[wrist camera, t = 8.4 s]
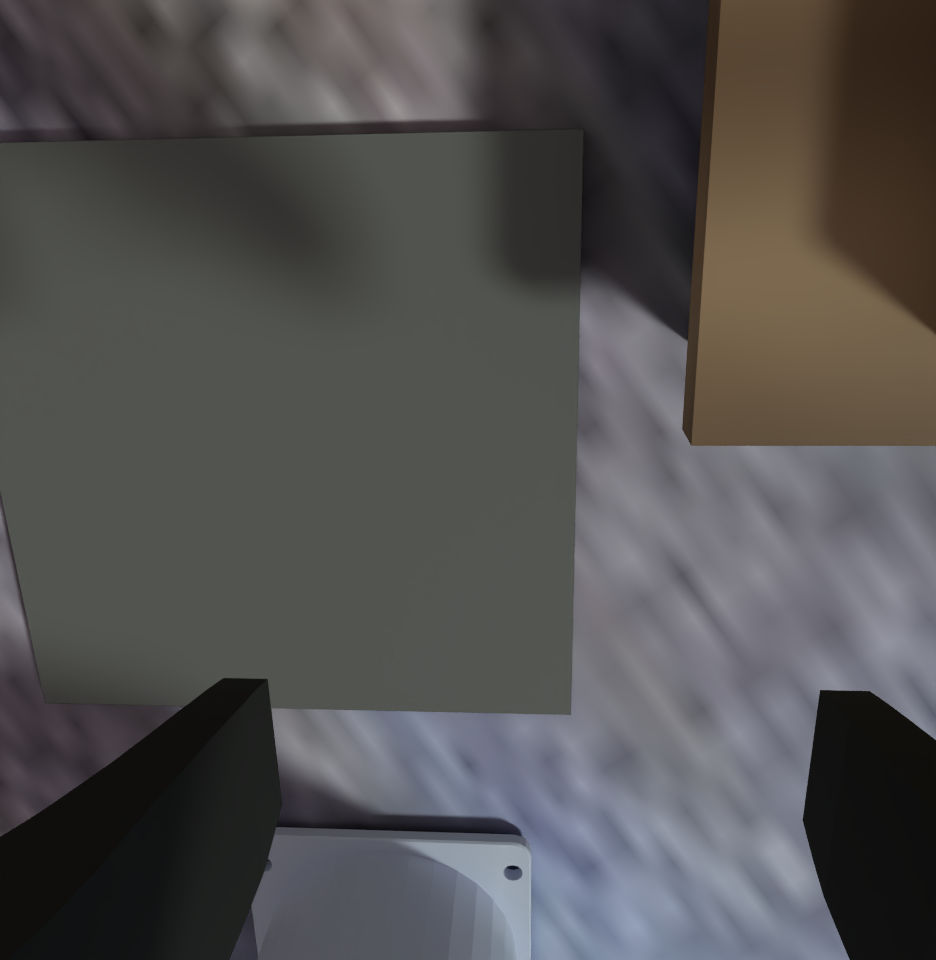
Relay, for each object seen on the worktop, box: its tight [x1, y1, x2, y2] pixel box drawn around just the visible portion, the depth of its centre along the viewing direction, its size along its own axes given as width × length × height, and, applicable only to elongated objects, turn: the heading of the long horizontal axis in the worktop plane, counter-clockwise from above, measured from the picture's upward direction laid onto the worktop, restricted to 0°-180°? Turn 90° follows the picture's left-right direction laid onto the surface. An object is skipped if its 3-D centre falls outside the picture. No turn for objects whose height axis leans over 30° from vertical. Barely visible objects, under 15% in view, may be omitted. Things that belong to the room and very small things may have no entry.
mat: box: [0, 129, 584, 715], centre depth 21 cm, size 14×14×1 cm
